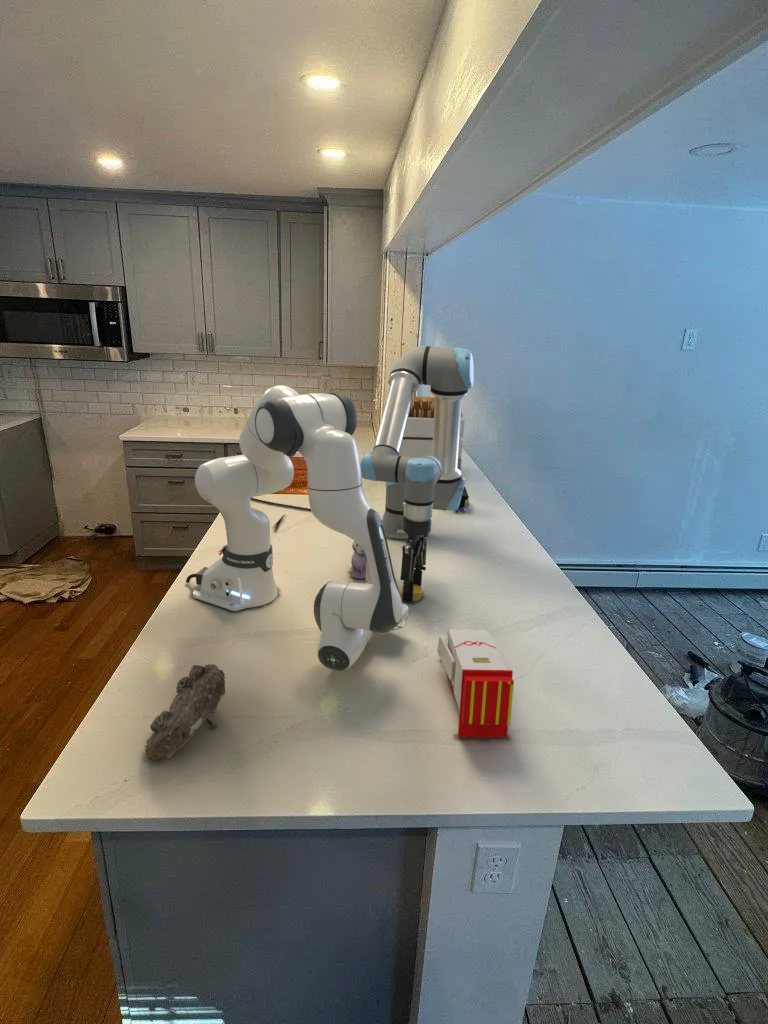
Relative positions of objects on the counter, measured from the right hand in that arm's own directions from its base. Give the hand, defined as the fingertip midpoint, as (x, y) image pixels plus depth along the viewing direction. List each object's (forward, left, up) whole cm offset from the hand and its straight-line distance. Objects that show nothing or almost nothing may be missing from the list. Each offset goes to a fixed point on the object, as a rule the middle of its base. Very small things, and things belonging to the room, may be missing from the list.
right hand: (411, 595), depth 157 cm
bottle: (+3, -16, 0) cm, 16 cm away
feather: (-72, +3, 0) cm, 72 cm away
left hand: (+2, -15, +6) cm, 17 cm away
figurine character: (-43, +67, 0) cm, 79 cm away
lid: (0, 0, +2) cm, 2 cm away
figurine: (-19, -1, 0) cm, 19 cm away
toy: (+38, -19, 0) cm, 42 cm away
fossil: (+12, -67, 0) cm, 68 cm away
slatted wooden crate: (-89, +89, 0) cm, 126 cm away
